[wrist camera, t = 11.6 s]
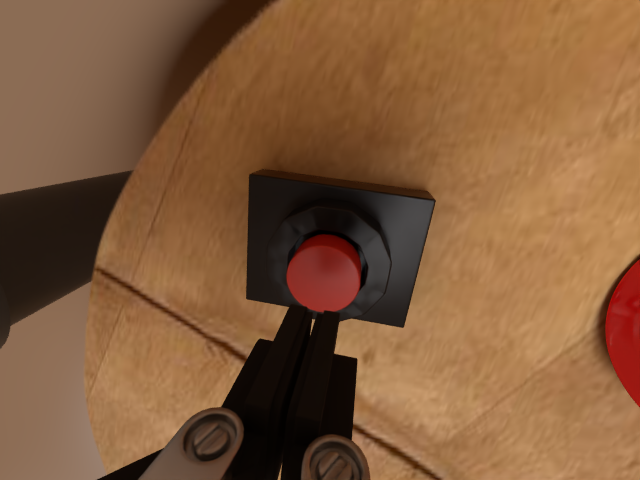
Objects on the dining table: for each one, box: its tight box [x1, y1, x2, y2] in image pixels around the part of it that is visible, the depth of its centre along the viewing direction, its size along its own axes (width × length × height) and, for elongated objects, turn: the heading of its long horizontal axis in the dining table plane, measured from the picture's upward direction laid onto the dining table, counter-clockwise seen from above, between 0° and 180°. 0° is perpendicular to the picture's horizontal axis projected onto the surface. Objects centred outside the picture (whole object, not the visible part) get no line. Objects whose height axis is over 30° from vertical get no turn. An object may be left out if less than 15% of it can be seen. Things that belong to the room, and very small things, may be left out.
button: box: [287, 234, 361, 312], centre depth 15 cm, size 4×4×2 cm
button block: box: [246, 169, 436, 328], centre depth 18 cm, size 10×8×4 cm
